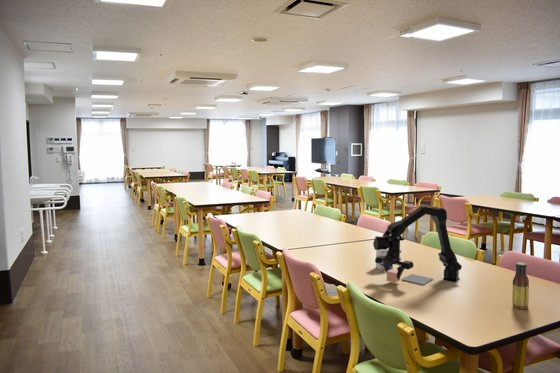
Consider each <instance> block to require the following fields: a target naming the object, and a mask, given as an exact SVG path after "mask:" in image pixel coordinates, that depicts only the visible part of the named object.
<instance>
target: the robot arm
mask: <svg viewBox="0 0 560 373" xmlns="http://www.w3.org/2000/svg"><path fill="white" fill-rule="evenodd" d="M425 215H428V216H430V217H431V220H432V221H433V223H434V224H435V226H436V232H437V236H438V240H439V243H440V249H441V251H440V252H438V253H437V254H438V257H439V259H438V260H439V261H440V262H441V263H442V265H443V266H444V269H443V278H442V280H445V281H449V282H457V281H459V280H460V277H459V276H460V275H459V274H460V271H461V270H462V266H463V265H461V264H460V263H459V261H458V258H457V256H456V254H455V252H454V251H453V250H452V247H451V243H450V241H451V240H450V236H449V232H448V228H447V225H446V224H447V219H448V212H447V210H446V209H444V208H442V207H440V206H433V207H431V206H430V207H429V206H426V205H419V206H418V208H416V209H414V210H413V211H411V212H410V213H408V214H407V215H406V216H404V217H403V218H401V219H400V220H397V221H394V222H392V223H390V224H388V225H387V228H386V230H385V232H384V233H383V234H382V236H379V235H377V236H375V237H374V240H373V242H372V243H373V249H374V251H376V250H385V249H387V248H388V251H387V255H386V256H378V257H376V256H375V258H374V260H375V261H374V262H375V264H376V263H381V265H382V266H383V267H384V268H385V269H384V271H385V273H386V274H387V271H388V270H390V268H391V266H392V265H393V266H394V265H397V266H398V267H397V268H396V270H398V275H397V279H398V280H399V279H400V280H401V276H402V274H403V272H404V271H405V270H410V269H412V268H414V263H413V261H410V260H404V261H401V260H402V258H401V253H402V250H401V242H402V241H405V238H404V237H403V236H402V235H403V234H404V233H405V231H406V230H407V229H408V227H409V226H411V225H413V223H415V222H417V221H418V220H419V219H420V218H422V217H423V216H425Z"/></svg>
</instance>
